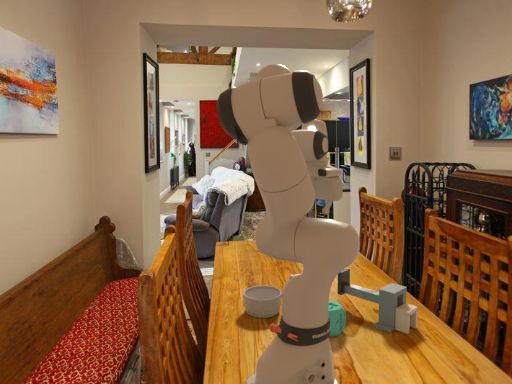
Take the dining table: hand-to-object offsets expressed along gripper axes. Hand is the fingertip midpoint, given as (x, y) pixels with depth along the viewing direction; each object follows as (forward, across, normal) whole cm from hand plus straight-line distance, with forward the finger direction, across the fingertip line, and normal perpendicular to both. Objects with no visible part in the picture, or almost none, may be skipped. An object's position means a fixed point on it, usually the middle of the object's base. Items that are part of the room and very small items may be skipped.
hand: (314, 212), depth 126 cm
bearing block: (+34, +23, +10) cm, 42 cm away
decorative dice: (+34, +12, -8) cm, 37 cm away
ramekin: (+34, -12, -13) cm, 39 cm away
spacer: (+34, +28, +10) cm, 45 cm away
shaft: (+29, +14, +10) cm, 34 cm away
